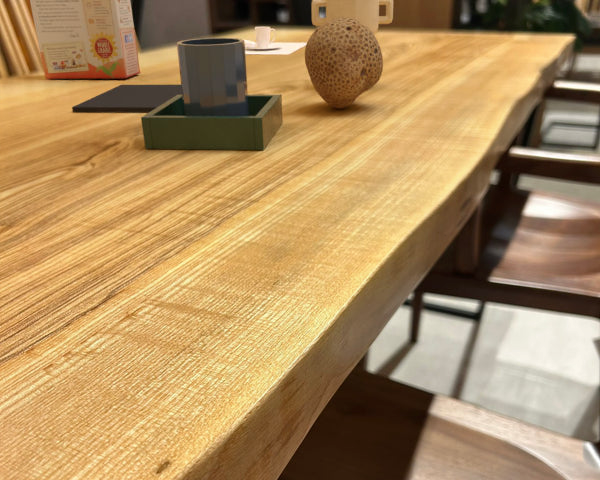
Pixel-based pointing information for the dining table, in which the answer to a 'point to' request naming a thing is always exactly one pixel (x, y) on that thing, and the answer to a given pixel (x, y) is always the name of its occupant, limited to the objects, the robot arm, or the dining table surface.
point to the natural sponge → (343, 61)
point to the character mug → (354, 12)
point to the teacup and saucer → (269, 44)
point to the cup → (213, 77)
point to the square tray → (213, 126)
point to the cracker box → (86, 38)
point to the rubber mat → (130, 99)
